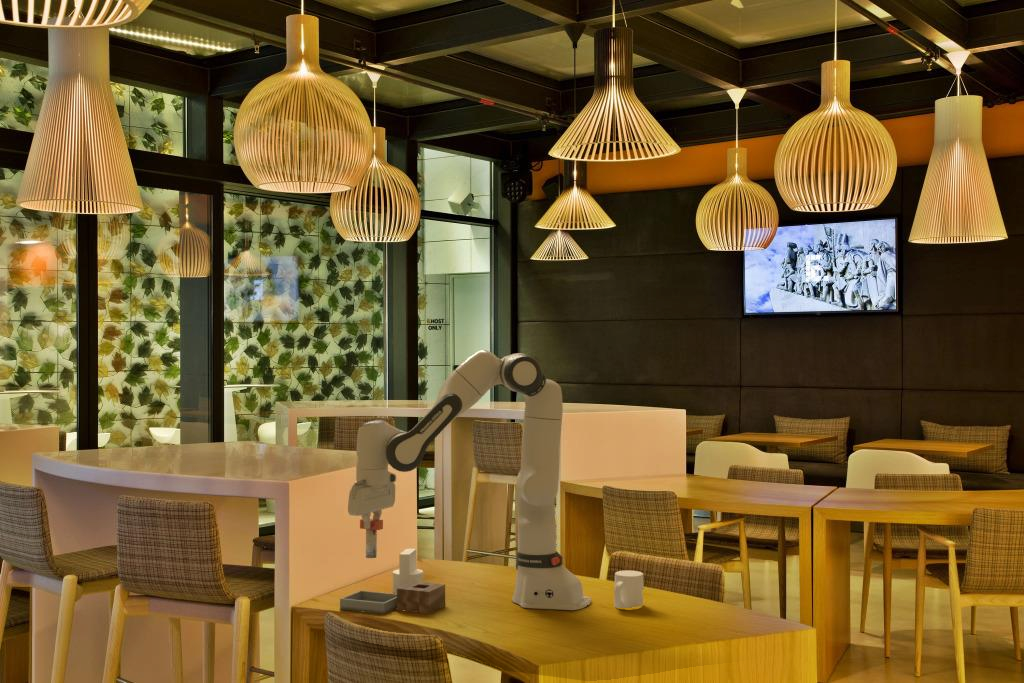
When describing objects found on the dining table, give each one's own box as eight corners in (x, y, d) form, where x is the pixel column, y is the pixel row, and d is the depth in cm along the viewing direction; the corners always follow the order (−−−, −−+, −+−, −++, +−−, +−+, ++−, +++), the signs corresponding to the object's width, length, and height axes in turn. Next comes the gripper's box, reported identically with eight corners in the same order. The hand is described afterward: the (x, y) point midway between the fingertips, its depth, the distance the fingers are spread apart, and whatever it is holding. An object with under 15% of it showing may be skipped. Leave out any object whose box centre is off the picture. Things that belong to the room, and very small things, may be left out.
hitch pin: (383, 557, 296) (383, 519, 296) (377, 559, 293) (378, 521, 293) (364, 555, 298) (365, 518, 298) (359, 557, 296) (359, 519, 296)
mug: (624, 568, 303) (649, 572, 298) (624, 601, 303) (649, 605, 298) (604, 576, 293) (629, 579, 289) (604, 609, 293) (629, 613, 289)
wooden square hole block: (445, 605, 298) (445, 584, 298) (428, 613, 289) (428, 591, 289) (414, 602, 302) (414, 581, 302) (396, 610, 293) (396, 588, 293)
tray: (403, 605, 298) (403, 594, 298) (383, 614, 288) (383, 603, 288) (360, 600, 304) (360, 590, 304) (340, 609, 293) (340, 598, 293)
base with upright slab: (418, 595, 310) (418, 554, 310) (389, 594, 311) (389, 553, 311) (426, 588, 319) (426, 549, 319) (397, 587, 320) (397, 548, 320)
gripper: (362, 483, 285) (362, 534, 285) (399, 474, 304) (398, 522, 304) (342, 481, 288) (342, 532, 288) (380, 473, 306) (379, 521, 306)
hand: (371, 527), depth 296 cm, fingers closed on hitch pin, 2 cm apart
